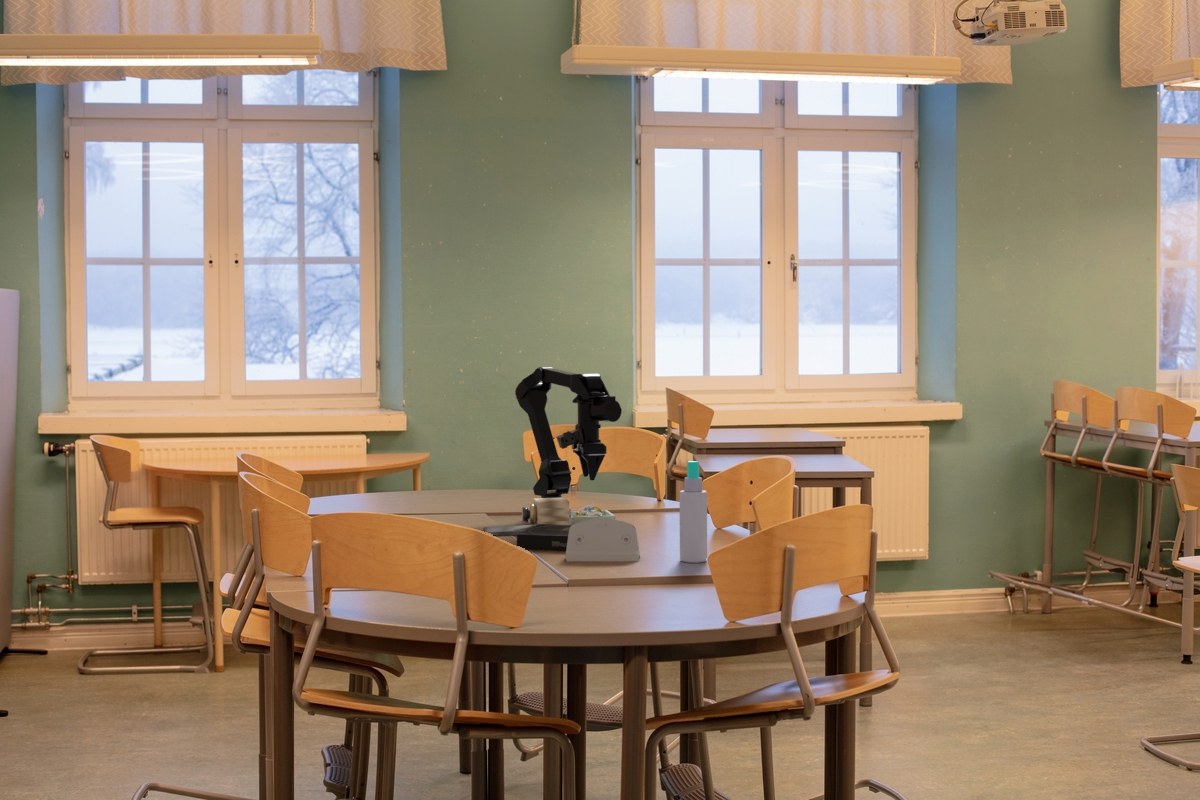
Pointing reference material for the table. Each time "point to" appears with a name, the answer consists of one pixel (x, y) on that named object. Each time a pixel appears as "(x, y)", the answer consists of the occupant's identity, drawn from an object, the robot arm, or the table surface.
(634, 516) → the table surface
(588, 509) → the ring
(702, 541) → the spray bottle
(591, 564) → the table surface
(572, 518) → the tray
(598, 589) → the table surface
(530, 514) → the shaft
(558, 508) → the block
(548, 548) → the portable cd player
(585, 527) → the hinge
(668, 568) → the table surface
